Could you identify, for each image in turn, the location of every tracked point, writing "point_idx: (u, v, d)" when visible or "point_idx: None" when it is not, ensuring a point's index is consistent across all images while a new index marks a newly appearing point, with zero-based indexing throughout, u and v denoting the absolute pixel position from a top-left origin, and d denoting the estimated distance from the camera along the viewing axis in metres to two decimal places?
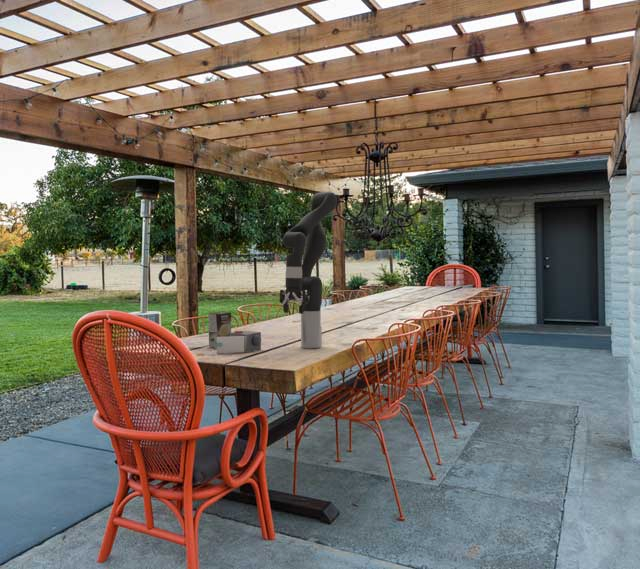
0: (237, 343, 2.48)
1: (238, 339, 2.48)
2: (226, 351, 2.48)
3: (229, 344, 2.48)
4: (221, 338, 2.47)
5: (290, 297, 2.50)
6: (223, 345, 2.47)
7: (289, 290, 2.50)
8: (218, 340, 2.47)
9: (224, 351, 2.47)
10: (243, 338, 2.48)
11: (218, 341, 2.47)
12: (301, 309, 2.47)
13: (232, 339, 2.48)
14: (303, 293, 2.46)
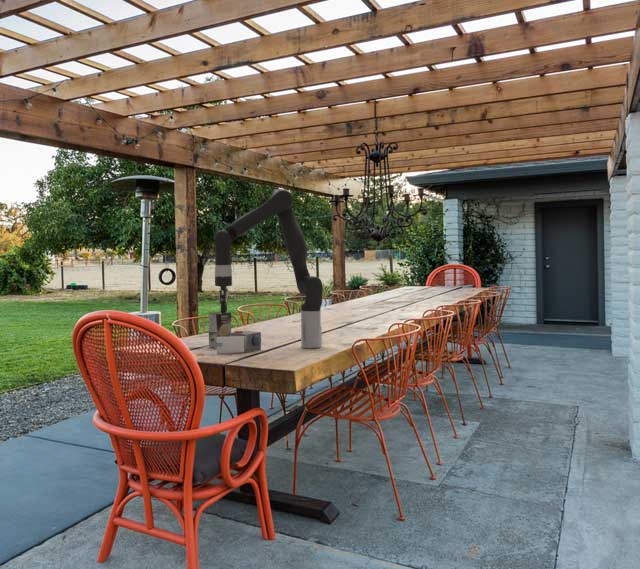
0: (237, 343, 2.48)
1: (238, 339, 2.48)
2: (226, 351, 2.48)
3: (229, 344, 2.48)
4: (221, 338, 2.47)
5: (226, 295, 2.49)
6: (223, 345, 2.47)
7: (225, 289, 2.48)
8: (218, 340, 2.47)
9: (224, 351, 2.47)
10: (243, 338, 2.48)
11: (218, 341, 2.47)
12: None
13: (232, 339, 2.48)
14: None
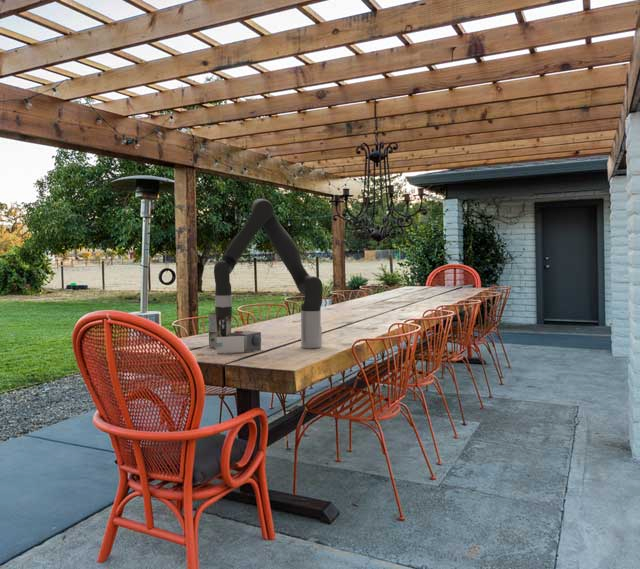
0: (237, 343, 2.48)
1: (238, 339, 2.48)
2: (226, 351, 2.48)
3: (229, 344, 2.48)
4: (221, 338, 2.47)
5: None
6: (223, 345, 2.47)
7: (226, 319, 2.49)
8: (218, 340, 2.47)
9: (224, 351, 2.47)
10: (243, 338, 2.48)
11: (218, 341, 2.47)
12: None
13: (232, 339, 2.48)
14: None
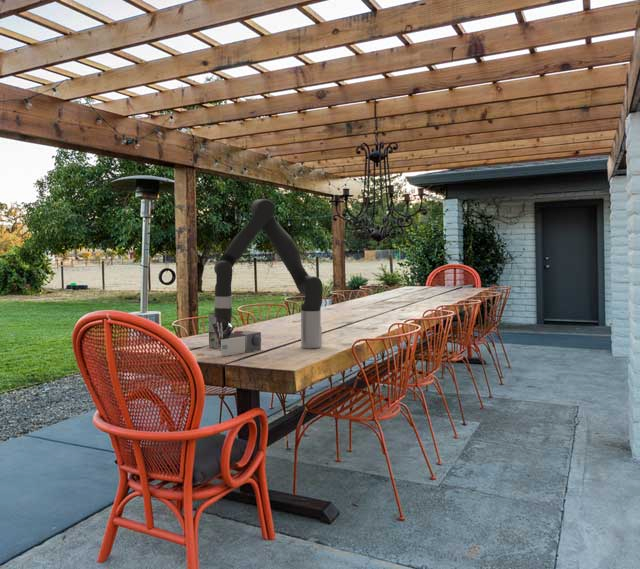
0: (239, 344, 2.46)
1: (240, 340, 2.46)
2: (230, 353, 2.43)
3: (233, 346, 2.44)
4: (226, 340, 2.41)
5: None
6: (227, 347, 2.42)
7: None
8: (223, 342, 2.40)
9: (228, 353, 2.42)
10: (244, 338, 2.48)
11: (223, 343, 2.40)
12: None
13: (235, 340, 2.44)
14: None
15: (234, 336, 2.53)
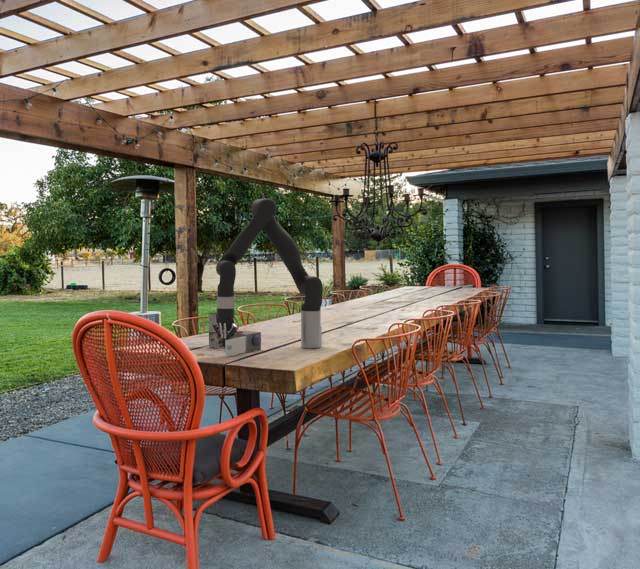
0: (241, 344, 2.45)
1: (241, 340, 2.46)
2: (233, 353, 2.42)
3: (235, 346, 2.43)
4: (230, 341, 2.39)
5: None
6: (231, 348, 2.40)
7: None
8: (228, 343, 2.38)
9: (232, 353, 2.41)
10: (244, 338, 2.48)
11: (228, 344, 2.38)
12: None
13: (237, 340, 2.44)
14: None
15: (234, 336, 2.53)
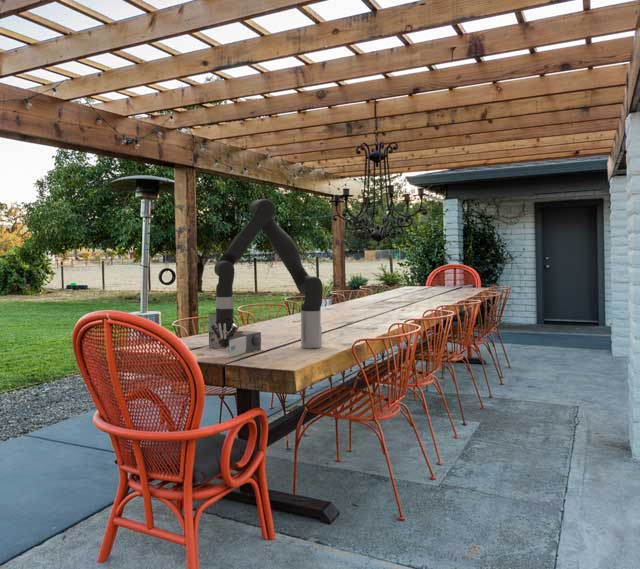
0: (242, 344, 2.45)
1: (242, 340, 2.46)
2: (236, 354, 2.41)
3: (238, 346, 2.42)
4: (233, 341, 2.39)
5: None
6: (234, 348, 2.40)
7: None
8: (232, 343, 2.38)
9: (235, 354, 2.40)
10: (245, 338, 2.48)
11: (232, 344, 2.38)
12: None
13: (239, 340, 2.43)
14: None
15: (234, 336, 2.53)
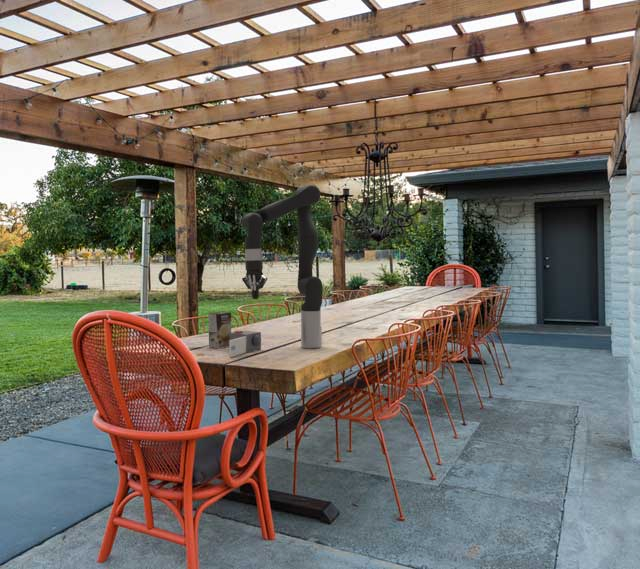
0: (242, 344, 2.45)
1: (242, 340, 2.46)
2: (236, 354, 2.41)
3: (238, 346, 2.42)
4: (233, 341, 2.39)
5: None
6: (234, 348, 2.40)
7: None
8: (232, 343, 2.38)
9: (235, 354, 2.40)
10: (245, 338, 2.48)
11: (232, 344, 2.38)
12: None
13: (239, 340, 2.43)
14: None
15: (234, 336, 2.53)
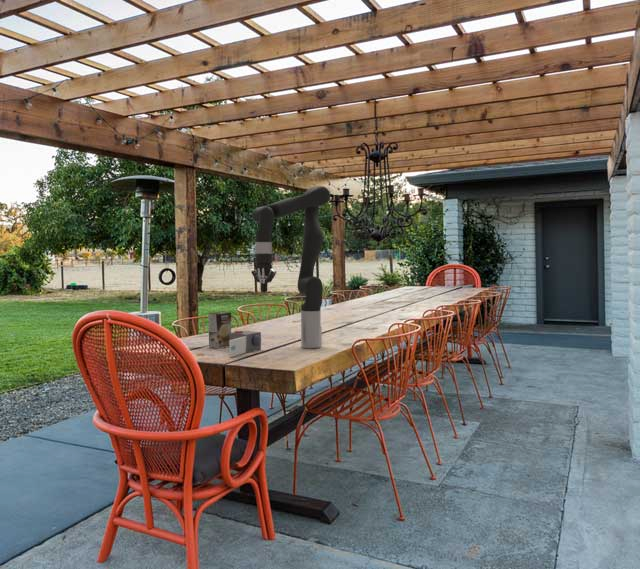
0: (242, 344, 2.45)
1: (242, 340, 2.46)
2: (236, 354, 2.41)
3: (238, 346, 2.42)
4: (233, 341, 2.39)
5: None
6: (234, 348, 2.40)
7: None
8: (232, 343, 2.38)
9: (235, 354, 2.40)
10: (245, 338, 2.48)
11: (232, 344, 2.38)
12: None
13: (239, 340, 2.43)
14: None
15: (234, 336, 2.53)
